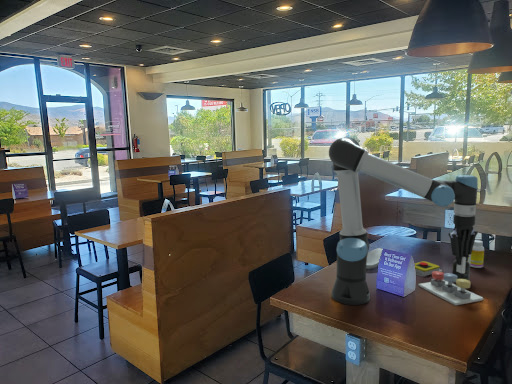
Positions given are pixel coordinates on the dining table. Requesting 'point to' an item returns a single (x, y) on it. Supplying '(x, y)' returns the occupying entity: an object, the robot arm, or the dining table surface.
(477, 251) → the supplement bottle
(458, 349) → the dining table surface
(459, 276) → the supplement bottle
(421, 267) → the emergency button
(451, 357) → the dining table surface
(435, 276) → the red button
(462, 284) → the ochre button
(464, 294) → the console
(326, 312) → the dining table surface
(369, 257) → the spoon rest
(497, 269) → the dining table surface
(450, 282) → the slate button
